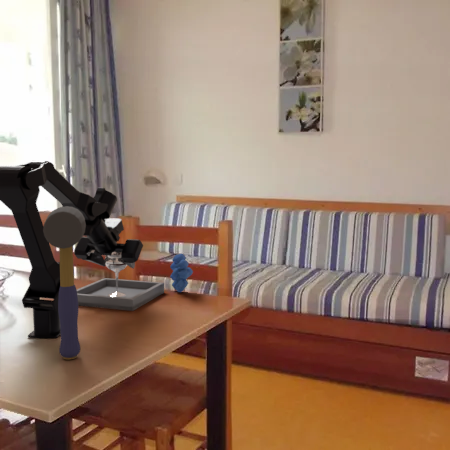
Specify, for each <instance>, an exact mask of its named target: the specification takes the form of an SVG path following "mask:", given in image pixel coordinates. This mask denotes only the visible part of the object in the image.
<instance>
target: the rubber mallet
mask: <svg viewBox="0 0 450 450" xmlns="http://www.w3.org/2000/svg"><path fill="white" fill-rule="evenodd" d="M43 226H44V228H43V232H44V236H45V238H46V240H47V241H48V242H49V244H50V246H52V247H55V248H57V249H59V262H60V289H59V299H58V312H59V319H60V329H61V334H60V343H59V348H58V349H59V354H60V356H61V358H62V360H69V361H70V360H74V359H77V358H78V355H79V354H80V352H81V344H80V341H79V332H78V331H79V330H78V329H79V327H78V323H79V321H78V320H79V319H78V318H79V306H78V297H77V287H76V285H75V275H74V274H75V273H74V255H73V254H74V249H73V246H76V245H77V243H78V241H79V240H80V239H81V238H82V237H84V236H83V235H84V233H85V228H86V223H85V218H84V216H83V214H82V213H81V212H80V211H79V210H78V209H76V208H74V207H69V206H65V207H62V206H60V207H58V208H55V209H54V210H52V211H51V212H50V213H49V214H48V215H47V217H46V219H45V222H44V224H43Z"/></svg>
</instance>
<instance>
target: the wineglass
mask: <svg viewBox="0 0 450 450" xmlns="http://www.w3.org/2000/svg"><path fill="white" fill-rule="evenodd" d="M104 261H105V267H106V268H107V269H108V270H110V271H112V272H113V273H114V275H115V279H116V292H113V293H110V294H108V296H112V297H121V296H125V295H126V294H125V293H122V292H118V279H119V273H120V272H121V271H124V269H126V268H127V266H128V265H127V264H125V263H124V260H122V258H121V252H112V254H111V256H110V255H105V258H104Z"/></svg>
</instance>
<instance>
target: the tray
mask: <svg viewBox="0 0 450 450" xmlns="http://www.w3.org/2000/svg"><path fill="white" fill-rule="evenodd" d="M76 290H77V297H78V307H79V306H80V307H89V308H90V307H91V308H99V309H101V308H102V309H107V310H108V309H111V310H118V311H119V310H120V311H129V312H130V311H131V312H133V311H135V310H137V309H139V308H141V307H142V306H144V305H146V304H147V303H149V302H151V301H153V300H154V299H157V297H159V296H160V295H162V294H164V293H165V282H161V281H159V282H158V281H145V280H133V279H122V278H121V279H120V278H118V292H122V293H125V294H126V295H125V296H121V297H112V296H108V294H110V293H113V292H116V278H108V277H107V278H106V277H105V278H102V279H99V280H96V281H94V282H92V283H89V284H86V285H84V286H82V287H79V288H76Z"/></svg>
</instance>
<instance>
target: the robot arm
mask: <svg viewBox="0 0 450 450" xmlns="http://www.w3.org/2000/svg"><path fill="white" fill-rule="evenodd" d="M40 187H42V188H43V189H44V190H45V191H46V192H48V194H50V195H51V196H52V197H53V198H54V199H55V200H56V201H58V202H59V203H60V204H61V205H62V206H61V207H65V206H69V207H74V208H76V209H78V210H79V211H80V212H81V213H82V214H83V216H84V218H85V223H86V228H85V233H84V235H83V237H82V238H81V239H80V240H79V241H78V242H77V243H76V244H75V248H74V249H73V254H74V256H75V257H76V258H77V259H79V260H80V259H81V260H82V261H87V262H90V263H93V264H96V265H98V266H101V267H106V265H105V261H104V260H105V258H104V257H103V256H106V255H110V256H111V254H112V252H121V258H122V260H124V263H125V264H127V266H128V267H129V268H131V269H132V270H133V269H135V266H136V263H137V262H138V260H139V258H140V255H141V253H142V250H143V247H144V244H143V243H142V241H141V239H135V238H134V239H133V238H131V239H130V238H128V239H126V241H125V242H124V243H118V242H120V241H119V240H120V239H121V237H120V234H121V233H122V232H123V231H124V230H125V228H124V225H123V219H122V218H118V217H117V218H114V217H113V218H111V215H112V212H113V210H114V208H115V206H116V204H117V202H118V197H117V195H115V194H114V193H113V192H110V191H108V190H106V188H105V187H97V189H96V192H95V194H94V196H92V195H90V194H87V193H84V192H81V191H79V190H78V189H76V188H75V187H74V186H73V184H71V182H69V181H68V180H67V179H66V178H65V176H63V175H62V174H61V173H60V172H59V171H58V170H57V169H56V168H55V164H53V163H52V162H50V161H49V160H32V161H30V162H26V163H24V164H23V163H22V164H19V165H13V166H12V165H10V166H9V165H8V166H7V165H0V202H2V204H4V205H5V206H6V207H7V208H8V209H9V210H10V211H11V213H12V216H13V219H14V222H15V223H16V226H17V229H18V232H19V235H20V238H21V241H22V243H23V246H24V249H25V252H26V254H27V257H28V259H29V263H30V266H31V270H30V273H29V276H28V281H29V282H28V283H29V286H28V287H27V288H26V289H27V290H26V291H25V293H24V295H23V297H22V300H21V302H22V306H23V308H24V309H32V316H33V317H32V318H33V330H32V331H31V332H30V333H29V334H27V337H28V338H31V339H32V338H37V339H38V338H39V339H41V338H43V339H47V338H49V339H56V338H58V337H59V336H61V329H60V319H59V312H58V299H59V289H60V261H56V260H55V256H54V254H53V251H52V248H51V244H50V243H49V242H48V241H47V240H46V238H45V236H44V232H43V228H44V224H43V221H42V218H41V215H40V211H39V209H38V206H37V201H38V198H39V194H40V192H41V191H40Z"/></svg>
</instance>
